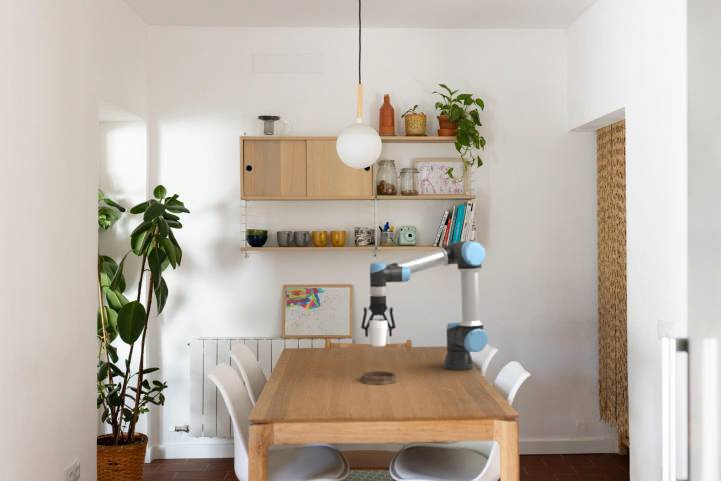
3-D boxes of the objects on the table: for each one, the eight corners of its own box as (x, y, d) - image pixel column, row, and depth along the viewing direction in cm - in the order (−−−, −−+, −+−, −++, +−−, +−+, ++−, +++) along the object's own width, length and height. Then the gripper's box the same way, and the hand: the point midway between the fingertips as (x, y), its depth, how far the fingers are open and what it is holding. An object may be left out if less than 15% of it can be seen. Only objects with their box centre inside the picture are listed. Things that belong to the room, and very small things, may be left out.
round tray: (395, 376, 322) (395, 370, 322) (397, 384, 305) (397, 378, 305) (360, 376, 322) (360, 371, 322) (360, 384, 305) (360, 378, 305)
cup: (386, 347, 308) (386, 321, 308) (367, 346, 310) (367, 320, 310) (389, 344, 317) (389, 318, 317) (370, 343, 319) (370, 318, 318)
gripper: (400, 294, 317) (400, 342, 317) (355, 294, 317) (355, 342, 317) (401, 295, 309) (401, 344, 310) (355, 296, 309) (355, 345, 309)
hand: (378, 343), depth 313 cm, fingers closed on cup, 9 cm apart
